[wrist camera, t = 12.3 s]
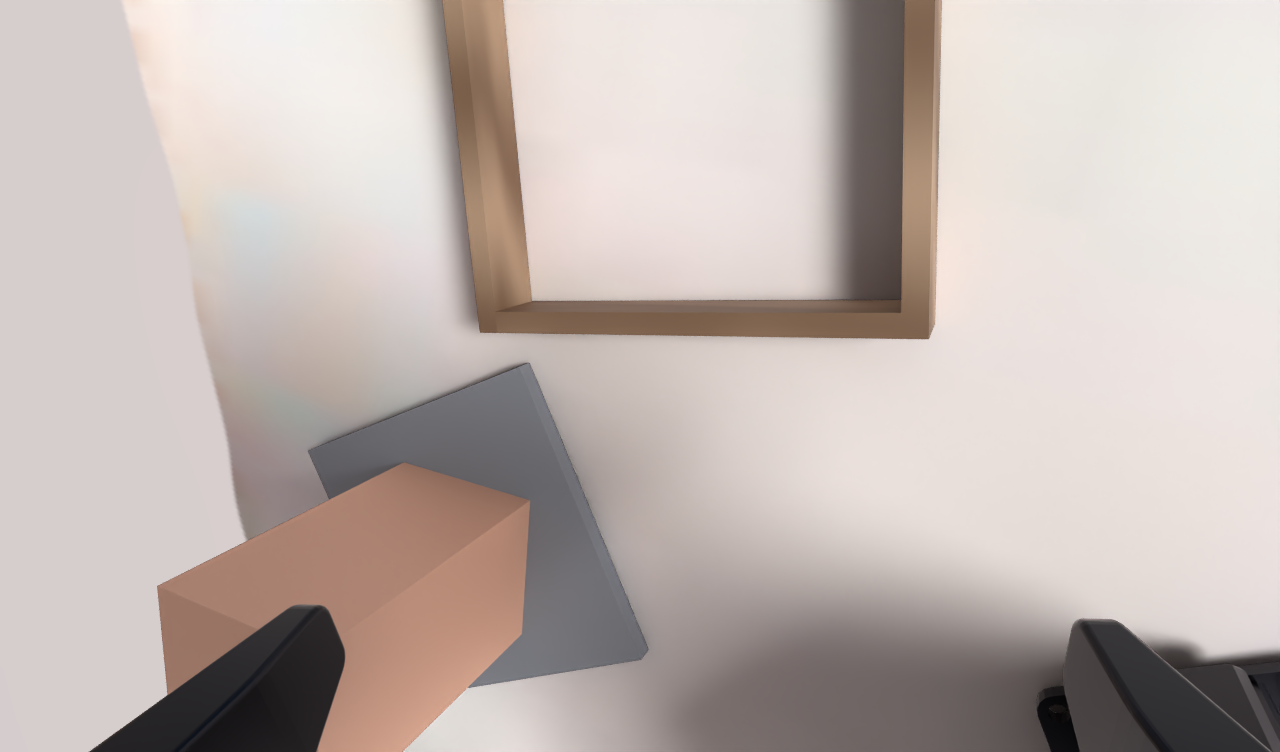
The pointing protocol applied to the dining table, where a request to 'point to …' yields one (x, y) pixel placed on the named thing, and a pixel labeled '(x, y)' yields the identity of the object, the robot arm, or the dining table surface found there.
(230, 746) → the robot arm
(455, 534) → the terracotta block
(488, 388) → the slate pad
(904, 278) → the walnut well
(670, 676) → the dining table surface
